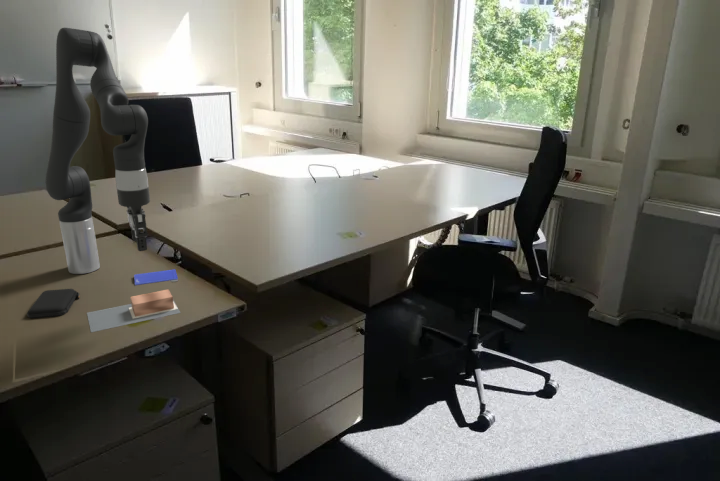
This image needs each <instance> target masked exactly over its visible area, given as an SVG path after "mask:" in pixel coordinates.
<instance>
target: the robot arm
mask: <svg viewBox="0 0 720 481" xmlns="http://www.w3.org/2000/svg"><path fill="white" fill-rule="evenodd" d="M55 44H56V46H55V47H56V49H55V50H56V52H55V56H56V57H55V59H56V61H55V62H56V65H55V66H56V69H55V70H56V71H55V72H56V77H55V78H56V82H55V85H56V86H55V96H54V105H53V106H54V107H53V115H52V132H51V133H52V135H51V144H50V145H51V146H50V153H49V157H48V163H47V167H46V168H47V169H46V173H45V187H46V191H47V193H48V196H50V198H52V199H53V200H55V201H64V200H68V199H69V200H68V202H67V203H66V204H65V205H64V206H63V207H61V208H60V209H59V210H58V212H57V217H58V221H59V227H60V228H59V229H60V232H61V238H62V241H63V249H64V254H65V259H66V264H67V270H68V272H69V273H70V274H73V275H83V274H87V273H93V272H95V271H97V270H98V269H100V267H101V263H100V258H99V251H98V245H97V244H98V243H97V239H96V233H95V227H94V220H93V216H92V210H93V200H92V198H93V197H92V189H91V183H90V177H89V175H88V174H87V172H86V170H85V169H84V168H82V167H81V166H79V165H73V166H71V163H72V160H73V158H74V156H75V155H76V154H77V152H78V151H79V149H80V148H81V147H82V146H83V144H84V142H85V140H86V139H87V137H88V135H89V131H90V122H91V109H90V106H89V105H88V103H87V100H86V99H85V97H84V96H83V94H82V93H81V92H80V90H79V88H78V86H77V83H76V82H75V79H74V74H73V73H74V72H73V67H74V66H81V67H89V68H90V67H91V68H92V67H93V68H96V69H95V71H93V74H92V76H91V77H90V82H89V84H90V90H91V93H92V94H93V96H94V99H95V100H96V102H97V105H98V107H99V109H100V123H101V128H102V130H103V131H104V132H105V133H106V134H108V135H110V136H113V137H114V136H115V137H116V136H129V135H131V136H130V138H129V139H128V140H127V141H126V142H123V143H120V144H118V145H117V144H116V145H115V146H113V150H112V153H113V154H112V155H113V161H114V170H115V183H116V184H115V185H116V194H117V201H118V205H119V206H120V207H124V208H126V209H127V210H126V215H127V221H128V223H129V226H130V230H131V237H132V241H133V242H136V247H137V251H139V252H143V251H144V252H146V251H147V250H148V244H147V237H148V229H147V221H146V212H145V210H144V208H142V207H143V206H146V205H149V203H150V202H151V197H150V188H149V178H148V172H147V169H146V162H145V161H146V160H145V144H146V138H147V131H148V125H149V118H148V114H147V112H146V110H145V108H144V107H142V105H139V104H129V96H128V95H127V93H126V91H125V90H124V88H123V87H122V85H121V83H120V81H119V80H118V77H117V76H116V73H115V70H114V67H113V64H112V61H111V60H112V59H111V57H110V54H109V52H108V48H107V46H106V44H105V41H104V39H103V38H102V36H101V35H100V34H98V33H97V32H95V31H91V30H85V29H77V28H72V27H71V28H70V27H61V28H60V29H59V30H58V32H57V35H56V43H55ZM141 230H142V231H141Z"/></svg>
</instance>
